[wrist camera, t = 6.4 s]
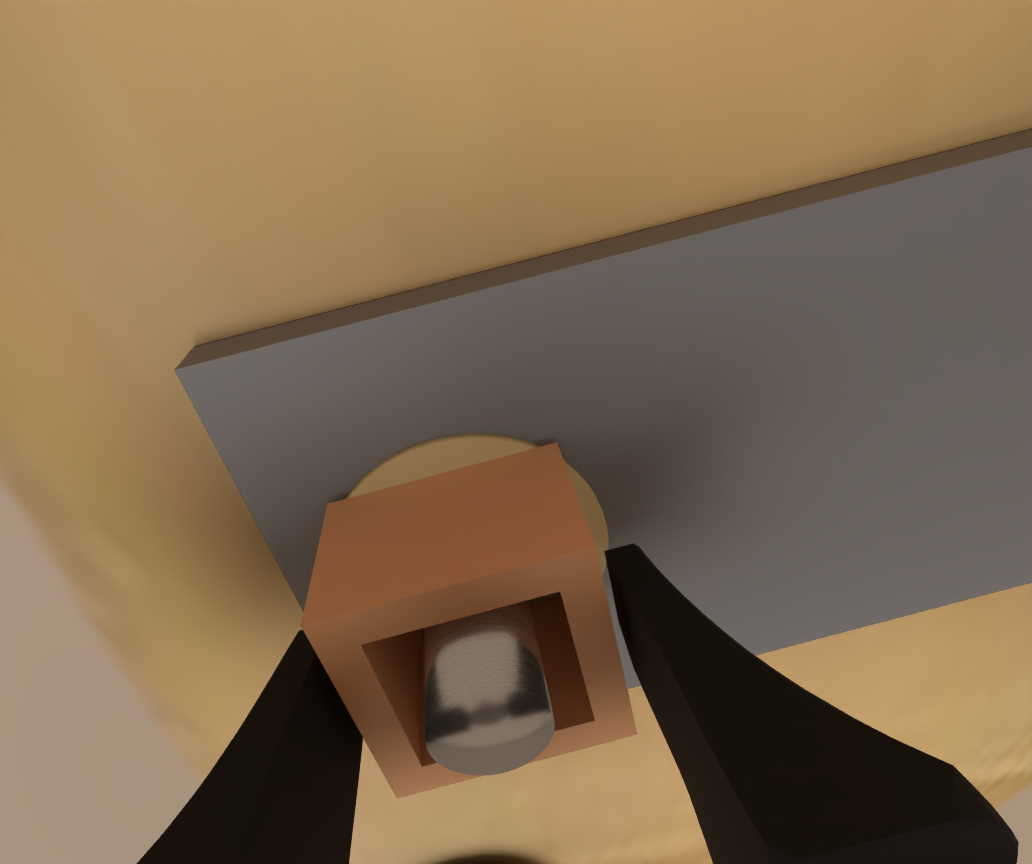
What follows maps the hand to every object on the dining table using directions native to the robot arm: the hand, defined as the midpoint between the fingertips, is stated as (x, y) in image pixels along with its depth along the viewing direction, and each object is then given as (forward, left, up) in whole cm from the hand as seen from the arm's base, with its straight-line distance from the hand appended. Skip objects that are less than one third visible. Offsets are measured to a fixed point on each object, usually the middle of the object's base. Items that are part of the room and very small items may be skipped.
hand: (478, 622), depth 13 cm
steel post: (0, 0, -3) cm, 3 cm away
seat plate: (-3, -4, -3) cm, 6 cm away
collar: (0, 0, -2) cm, 2 cm away
